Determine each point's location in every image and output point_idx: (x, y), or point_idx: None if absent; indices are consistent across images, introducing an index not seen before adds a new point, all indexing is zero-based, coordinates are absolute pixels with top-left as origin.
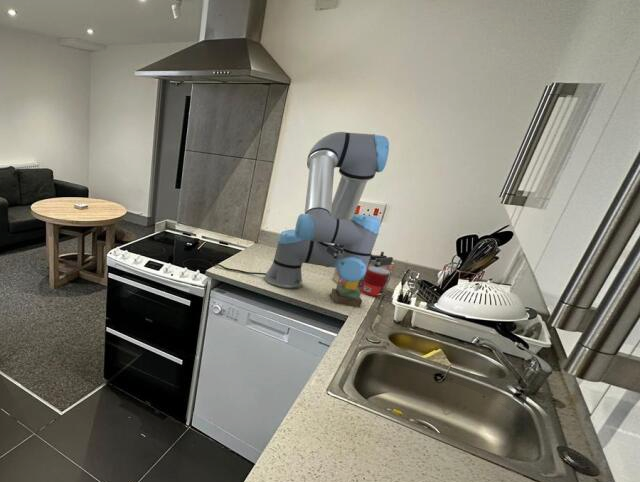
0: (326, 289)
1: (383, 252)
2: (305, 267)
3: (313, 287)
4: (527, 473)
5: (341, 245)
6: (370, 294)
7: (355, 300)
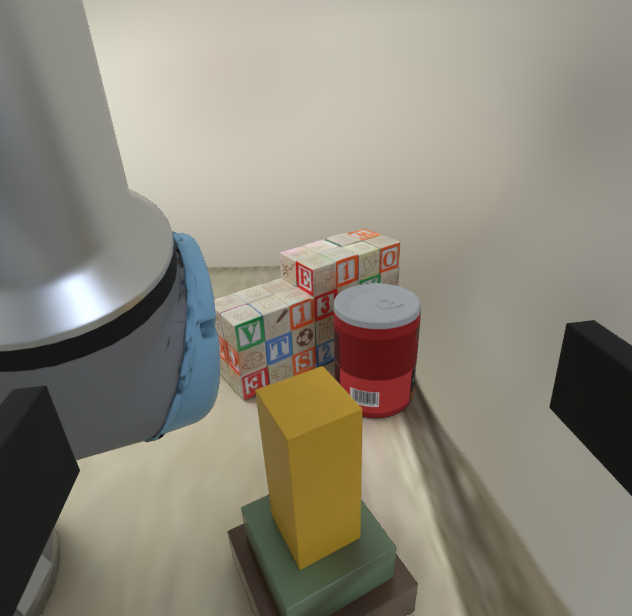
0: (205, 497)
1: (623, 343)
2: None
3: (137, 527)
4: None
5: (37, 425)
6: (383, 413)
7: (385, 608)
